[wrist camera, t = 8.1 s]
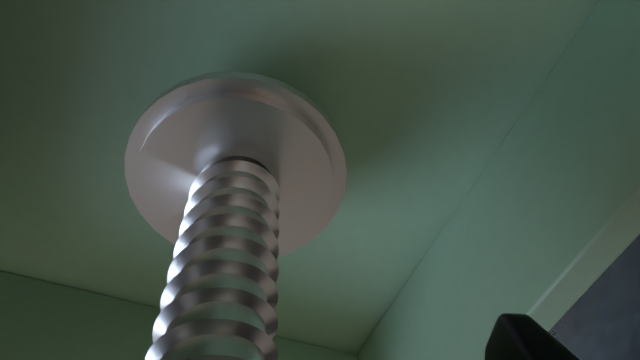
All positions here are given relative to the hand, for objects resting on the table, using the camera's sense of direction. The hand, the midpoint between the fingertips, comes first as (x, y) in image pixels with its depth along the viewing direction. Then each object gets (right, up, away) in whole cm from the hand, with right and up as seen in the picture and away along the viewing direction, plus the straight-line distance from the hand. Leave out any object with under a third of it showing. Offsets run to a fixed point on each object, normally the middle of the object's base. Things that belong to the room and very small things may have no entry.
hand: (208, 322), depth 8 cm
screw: (0, +3, +6) cm, 7 cm away
